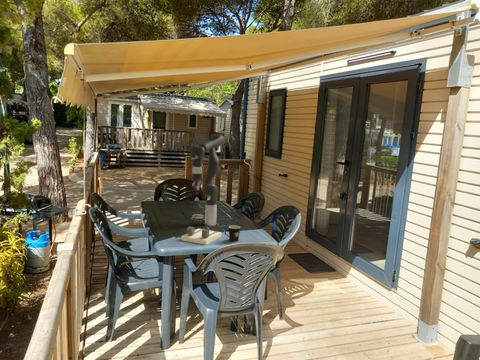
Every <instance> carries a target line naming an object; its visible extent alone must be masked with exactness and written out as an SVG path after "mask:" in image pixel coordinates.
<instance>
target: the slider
mask: <svg viewBox="0 0 480 360" xmlns="http://www.w3.org/2000/svg"><path fill="white" fill-rule="evenodd" d="M202 229H203V230H202V237H204V238H208V237H209V230H210V229H206V228H202Z"/></svg>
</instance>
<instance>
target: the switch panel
mask: <svg viewBox="0 0 480 360" xmlns="http://www.w3.org/2000/svg"><path fill="white" fill-rule="evenodd" d="M203 229H204V228H197V229H195V231H194V235H187V233H185V234H184V235H181V241H184V242H188V243H189V242H190V243H193V244H194V243H195V244H198V245H199V244H200V245H208V244H211V243H213V242H214V241H216V240H217V239H219V238H221V237H222V232H221V231H216V230H210V229H208V230H209V237H208V238H204V237H202V230H203Z"/></svg>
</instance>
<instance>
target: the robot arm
mask: <svg viewBox="0 0 480 360" xmlns="http://www.w3.org/2000/svg"><path fill="white" fill-rule="evenodd" d="M209 137H210V138H209V140H208V141H207V140H206V141H204V142H203V143H200V144H196V145H193V146H192V147H191V148H190V154H192V155H193V156H197V158H193V159H192V171H191V172H192V173H191V178H192V179H193V183H191V188H192V189H193V190H194V195H195V196H199V191H200V189H201V187H202V184H203V181H201V180H202V179H203V160H204V157H205V154H206V152H209V153H208V154H209V155H208V160H207V168H206V169H207V171H206V179H205V181H204V182H205V183H204V187H203V188H204V189H203V192H204V195H205V196H208V197H210V198H209V199H207V200H206V201H205V212H204V214H205V215H204V216H205V217H204V225H205V226H211V227H212V226H216V225H217V215H218V214H217V213H218V212H217V211H218V210H217V207H218V206H217V205H218V200H219V188H218V186H217V185H214V184H213V185H212V183H213V180H214V178H215V176H216V175H217V174H218V172H219V169H220V160H219V157H218V155H217V153H216V148H217V147H221V146H223V145H224V144H225V137H224V136H223V134H211V135H210V136H209Z"/></svg>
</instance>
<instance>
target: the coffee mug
mask: <svg viewBox="0 0 480 360" xmlns="http://www.w3.org/2000/svg"><path fill="white" fill-rule="evenodd" d="M227 231H228V234H227ZM240 232H241V226H239V225H229V226H228V229H225V231H224V235H226V236H227V237H228V239H229V242H234V243H236V242H238V241H239V238H240Z"/></svg>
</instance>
